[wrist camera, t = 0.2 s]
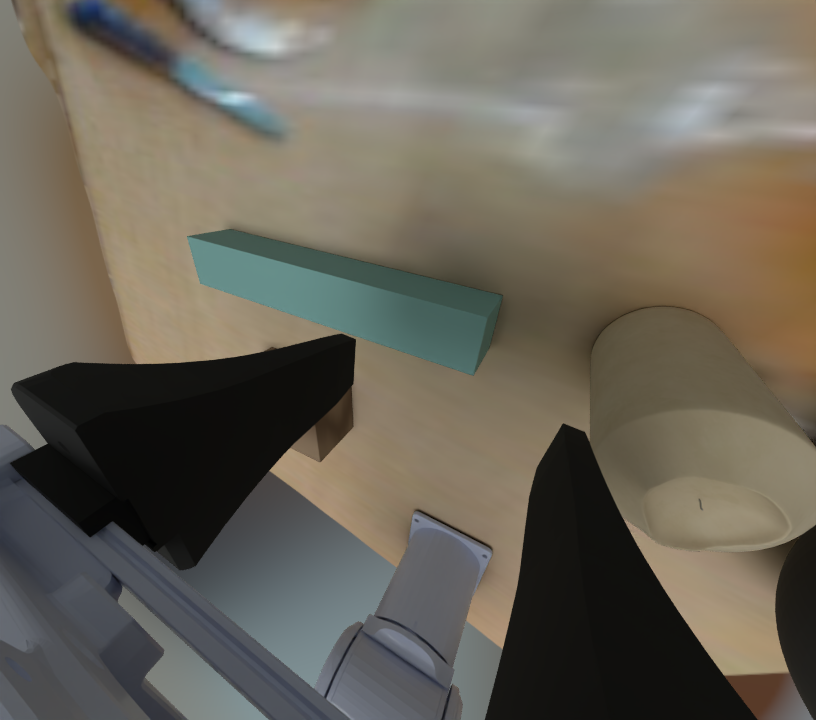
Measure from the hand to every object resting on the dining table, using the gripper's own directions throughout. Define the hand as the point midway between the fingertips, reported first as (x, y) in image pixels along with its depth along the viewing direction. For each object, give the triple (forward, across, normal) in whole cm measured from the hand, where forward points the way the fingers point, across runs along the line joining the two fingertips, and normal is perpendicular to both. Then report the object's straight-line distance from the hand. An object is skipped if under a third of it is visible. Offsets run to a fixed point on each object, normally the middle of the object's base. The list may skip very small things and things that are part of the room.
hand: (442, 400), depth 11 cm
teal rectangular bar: (+10, +11, +2) cm, 15 cm away
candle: (+10, -8, 0) cm, 13 cm away
